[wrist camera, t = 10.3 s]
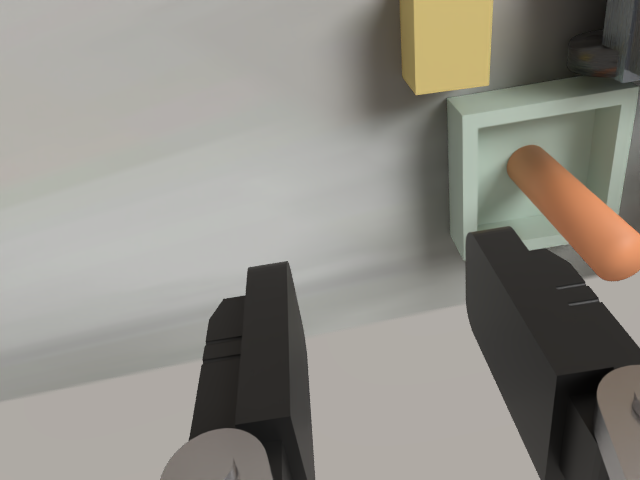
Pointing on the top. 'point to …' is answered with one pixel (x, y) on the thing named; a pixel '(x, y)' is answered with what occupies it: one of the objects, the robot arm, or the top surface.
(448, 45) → the block
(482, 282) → the robot arm
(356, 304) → the top surface
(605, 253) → the pin
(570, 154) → the tray
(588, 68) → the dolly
